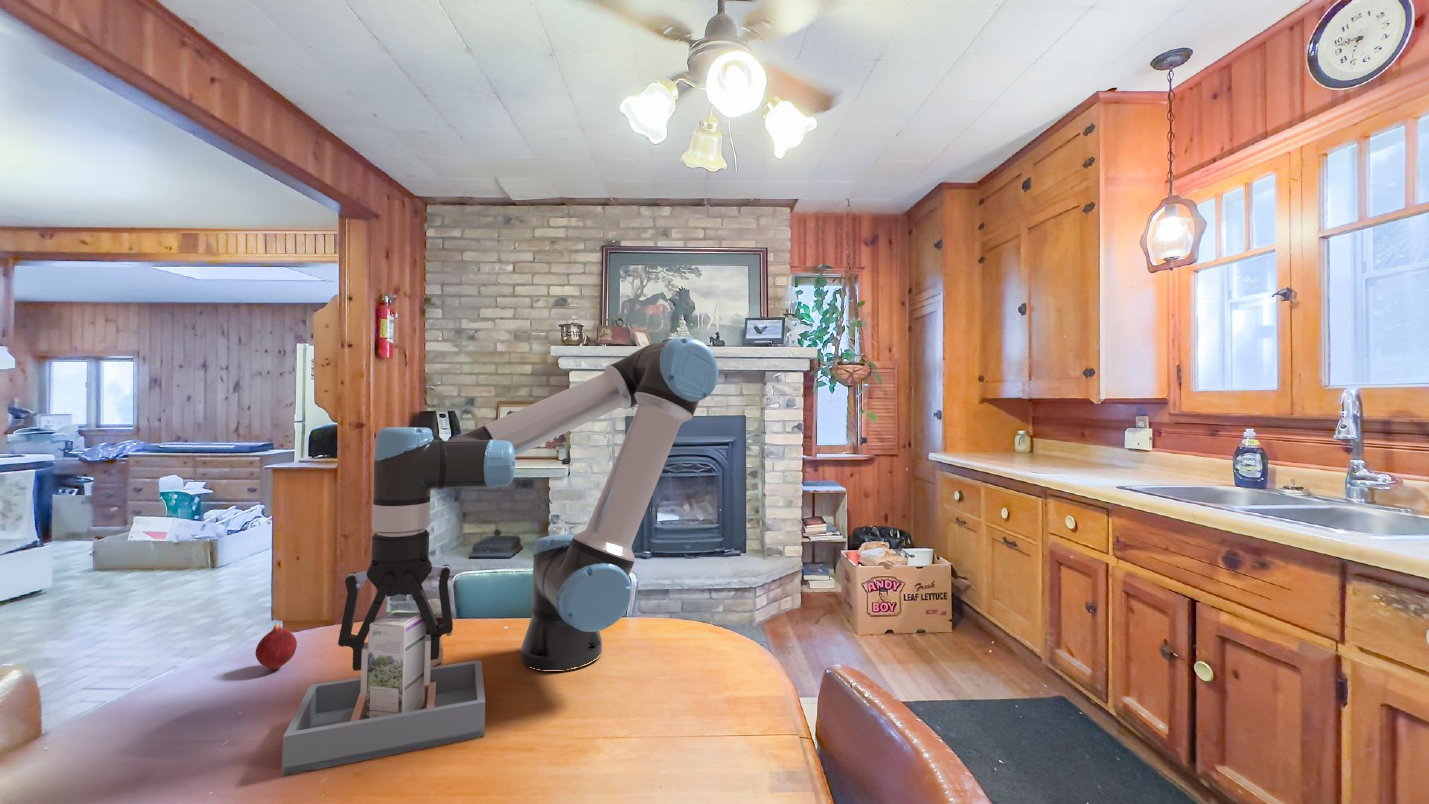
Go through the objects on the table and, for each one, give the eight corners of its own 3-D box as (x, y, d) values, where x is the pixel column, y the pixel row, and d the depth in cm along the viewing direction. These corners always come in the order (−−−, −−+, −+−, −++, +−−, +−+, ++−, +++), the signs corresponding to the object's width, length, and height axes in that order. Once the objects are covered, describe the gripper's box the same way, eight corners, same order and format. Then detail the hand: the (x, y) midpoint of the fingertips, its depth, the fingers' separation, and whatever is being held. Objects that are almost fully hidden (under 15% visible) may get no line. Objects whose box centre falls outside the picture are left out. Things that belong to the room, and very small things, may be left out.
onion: (303, 665, 104) (305, 621, 104) (269, 679, 99) (271, 632, 99) (281, 660, 106) (283, 616, 106) (247, 673, 101) (249, 627, 101)
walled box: (480, 689, 97) (481, 660, 97) (484, 736, 83) (485, 701, 83) (309, 718, 87) (310, 684, 87) (281, 776, 73) (283, 736, 73)
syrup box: (425, 705, 88) (429, 609, 88) (401, 726, 82) (404, 623, 82) (390, 702, 88) (393, 607, 89) (363, 723, 82) (367, 621, 83)
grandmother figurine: (436, 660, 108) (438, 592, 108) (454, 662, 107) (456, 594, 107) (404, 678, 100) (406, 605, 101) (422, 681, 99) (424, 607, 100)
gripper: (474, 522, 93) (470, 664, 93) (325, 530, 85) (320, 686, 84) (475, 531, 86) (471, 685, 86) (314, 541, 78) (308, 711, 78)
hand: (396, 685), depth 85 cm, fingers closed on syrup box, 7 cm apart
